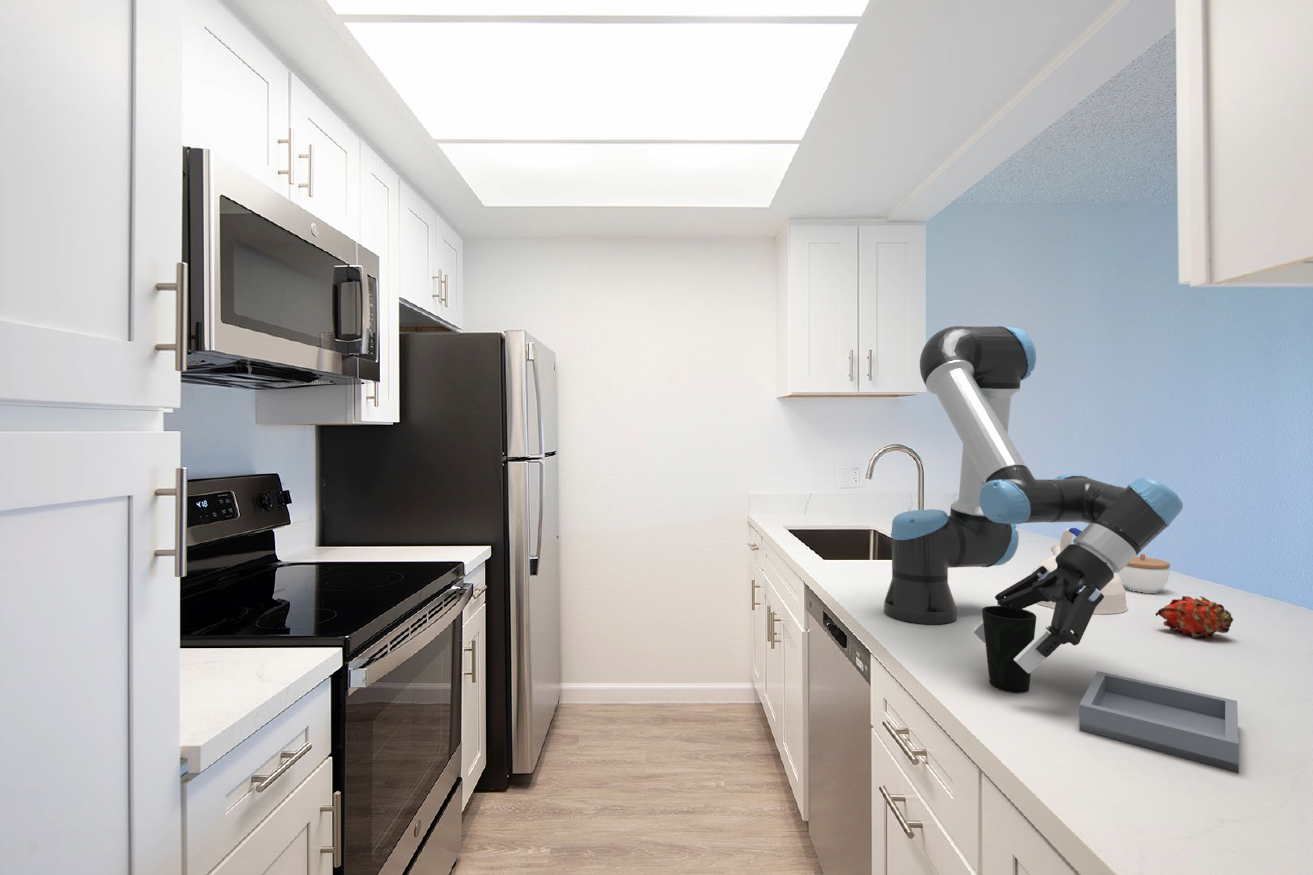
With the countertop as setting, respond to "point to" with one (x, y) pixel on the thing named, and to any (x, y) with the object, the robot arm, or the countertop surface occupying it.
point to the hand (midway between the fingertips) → (998, 650)
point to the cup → (1007, 645)
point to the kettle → (1112, 591)
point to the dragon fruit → (1196, 617)
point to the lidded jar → (1145, 574)
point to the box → (1162, 719)
